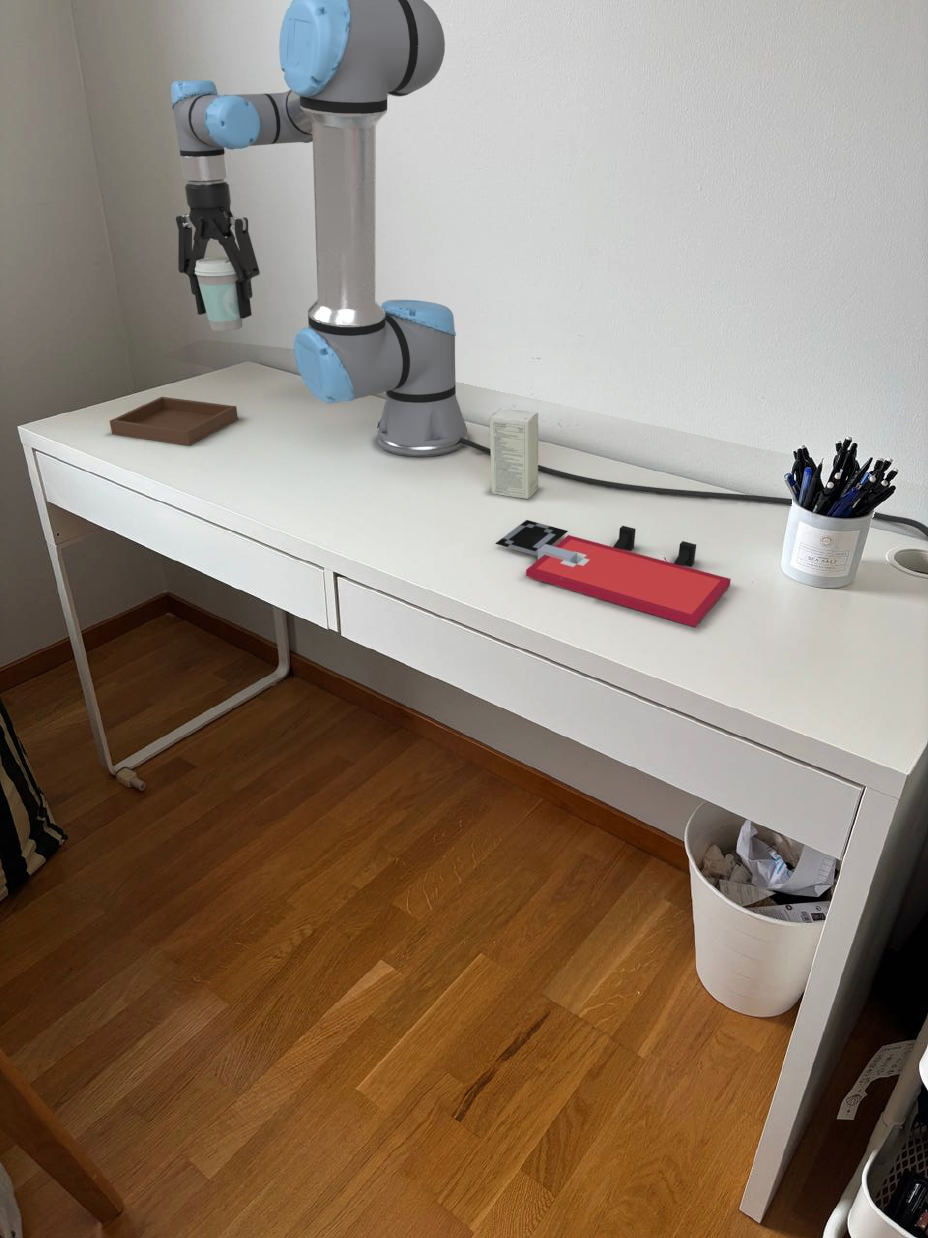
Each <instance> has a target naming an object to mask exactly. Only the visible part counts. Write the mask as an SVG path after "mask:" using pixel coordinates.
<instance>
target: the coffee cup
mask: <svg viewBox="0 0 928 1238" xmlns="http://www.w3.org/2000/svg"><path fill="white" fill-rule="evenodd" d="M195 274H196V275H197V278H198V282H199V286H200V290H201V294H202V297H203V301H204V305H205V309H206V313H205V314H206V316H207V321H208V323H209V328H210V330H212V331H215V332H231V331H236V330H237V331H238V330H240V329H241V328H242V327H243V319H242V318H240V313H239V306H238V298H237V290H236V283H235V281H237V280H238V279H239V278H238V276H237V274H236V272H235V270H234V268H233V266H232V264H231V262H230V260H229V258H228V256H210V257H209V256H208V257H204V258H203V259H200V260H197V261H196V268H195Z"/></svg>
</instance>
